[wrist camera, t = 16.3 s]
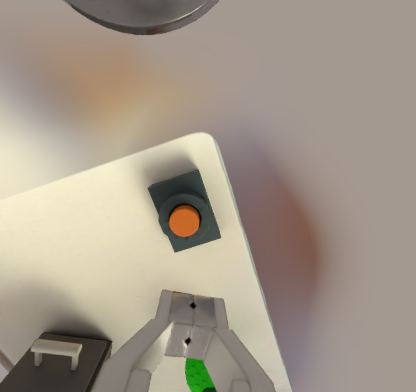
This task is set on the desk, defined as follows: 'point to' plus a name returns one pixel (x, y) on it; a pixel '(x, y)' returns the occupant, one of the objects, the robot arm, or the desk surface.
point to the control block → (185, 195)
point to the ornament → (198, 376)
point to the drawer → (55, 365)
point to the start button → (184, 220)
